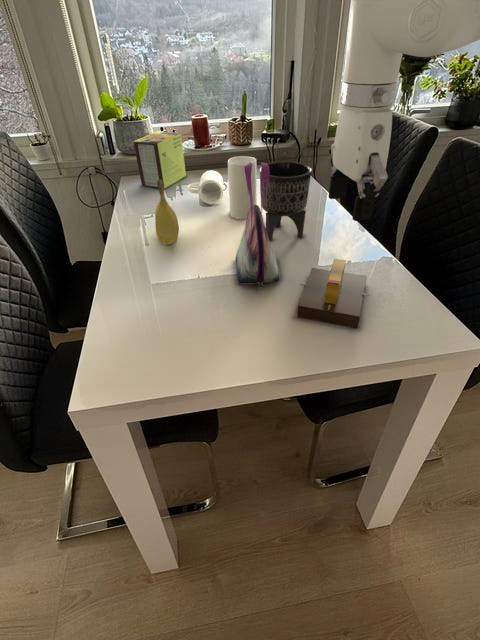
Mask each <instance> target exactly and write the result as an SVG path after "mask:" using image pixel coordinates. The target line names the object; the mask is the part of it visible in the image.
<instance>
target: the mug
mask: <svg viewBox="0 0 480 640" xmlns="http://www.w3.org/2000/svg"><path fill="white" fill-rule="evenodd" d="M186 188H187V191H188V192H189V193H190V194H194V195H195V194H196V195H198V196H199V199H200V200H201V202H203V203H205V205H206V204H207V205H211V206H212V205H216V204H218V203H220V202H221V201H222V199H223V196H224V178H223V176H222V174H220V172H219V171H216V170H213V169H211V170H210V169H209V170H206V171H205V172H203V173H202V174H201V177H200V181H196V182H192V183H189V184H188V185H187V187H186Z"/></svg>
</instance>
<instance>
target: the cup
mask: <svg viewBox="0 0 480 640" xmlns="http://www.w3.org/2000/svg"><path fill="white" fill-rule="evenodd" d="M249 163H252V170H251V187H252V202H253V205H258V204H257V200H258V199H257V197H258V195H257V194H258V193H257V192H258V190H257V188H258V187H257V173H258V172H257V169H258V167H257V158H255V157H253V156H248V155H240V156H233V157H230V158H229V159H228V160H227V173H228V174H227V175H228V194H229V195H228V196H229V214H230V215H229V216H230V217H231V218H233V219H236V220H246V218H247V213H249V209H250V207H251V205H250V195H249V191H248V187H247V182H246V175H245V168H244V167H245V165H247V164H249Z"/></svg>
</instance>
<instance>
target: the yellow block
mask: <svg viewBox="0 0 480 640" xmlns="http://www.w3.org/2000/svg"><path fill="white" fill-rule="evenodd" d="M346 263H347V260H346V259H341V258H334V259H333V262H332V265H331V269H330V270H331V272H330V275H329V278H328V282H327V287H326V294H325V301H324V302H326V303H332V304H337V300H338V296H339V292H340V288H341V284H342V280H343V275H344V273H345V268H346Z"/></svg>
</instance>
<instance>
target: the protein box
mask: <svg viewBox="0 0 480 640" xmlns="http://www.w3.org/2000/svg"><path fill="white" fill-rule="evenodd" d="M182 141H183V140H182V132H173V131H161V130H157V131H154V132H153V133H152V132H151V133H150V134H147V135H144V136H143V137H140V138H138V139H134V140H133V141H132V143H133V148H134V153H135V157H136V162H137V167H138V173H139V176H140V177H139V178H140V183H141V186H143V187H149V188H156V189H158V185H157V181H158V180H159V179H161V180H163V182H164V188H165V189H167V188H168V187H170V186H172V185H174V184H175V183H177V182H178V181H180V180H181V179H183V178H185V177H186V176H187V174H186V165H185V155H184V148H183V147H184V146H183V142H182Z"/></svg>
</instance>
